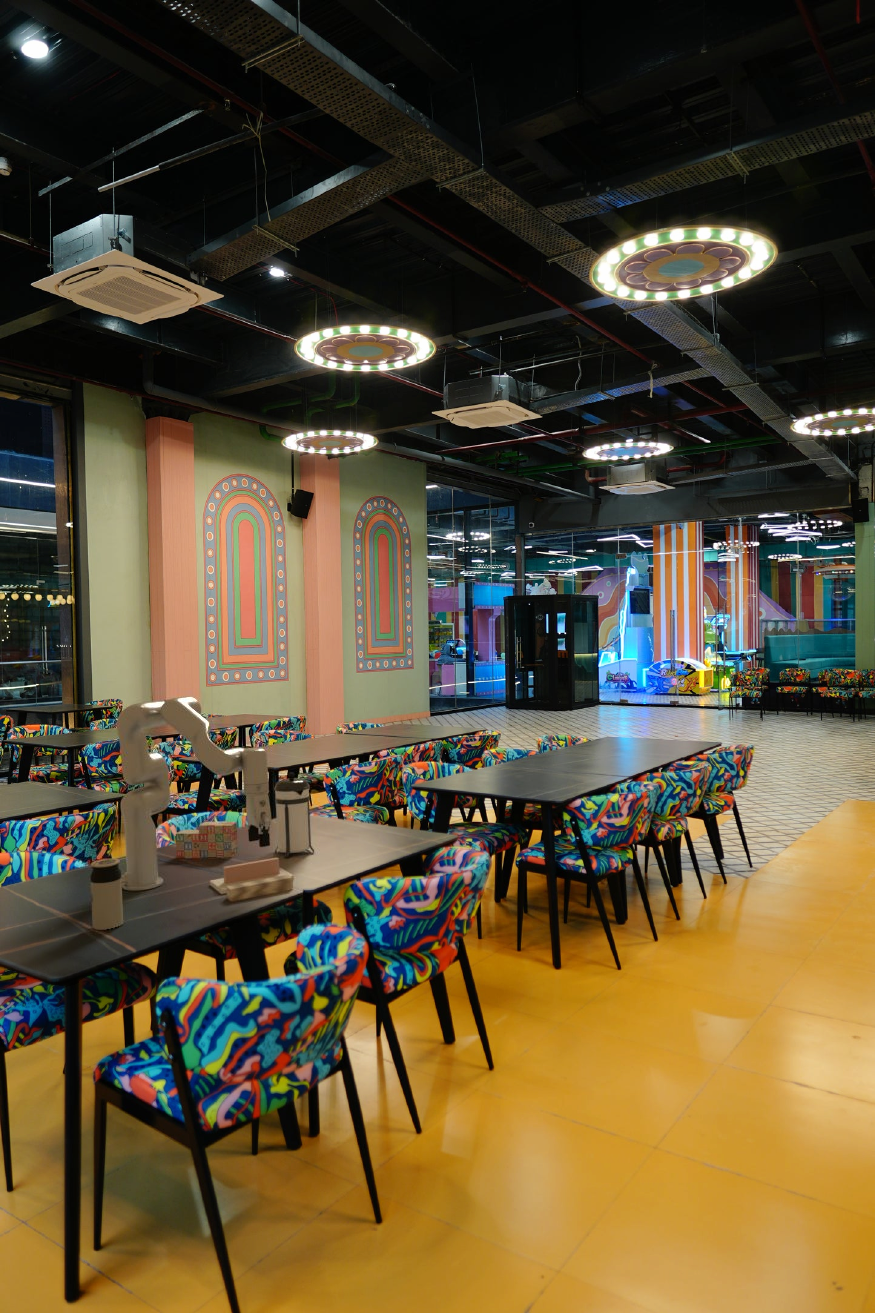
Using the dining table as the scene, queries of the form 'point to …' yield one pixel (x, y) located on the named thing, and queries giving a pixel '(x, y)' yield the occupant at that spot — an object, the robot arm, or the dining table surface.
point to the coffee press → (293, 815)
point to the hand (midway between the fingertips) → (259, 843)
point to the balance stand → (248, 873)
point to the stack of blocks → (208, 841)
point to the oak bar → (259, 887)
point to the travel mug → (106, 894)
